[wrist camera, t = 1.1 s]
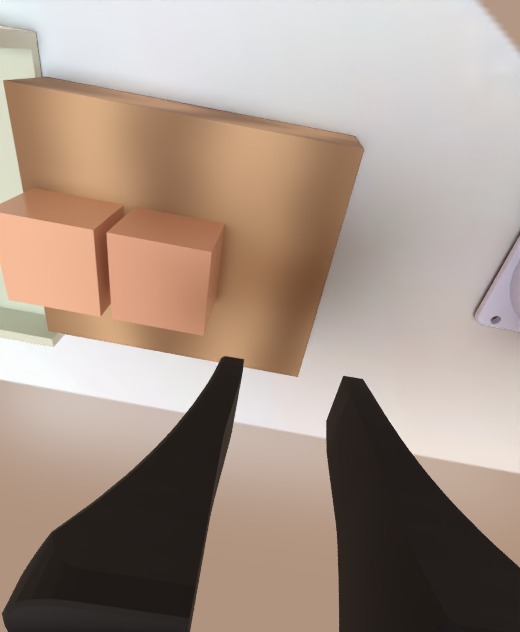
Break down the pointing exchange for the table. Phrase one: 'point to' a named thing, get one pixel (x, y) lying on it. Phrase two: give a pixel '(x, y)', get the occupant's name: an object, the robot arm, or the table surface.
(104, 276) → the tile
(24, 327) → the tray
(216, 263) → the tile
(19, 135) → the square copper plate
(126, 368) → the table surface
